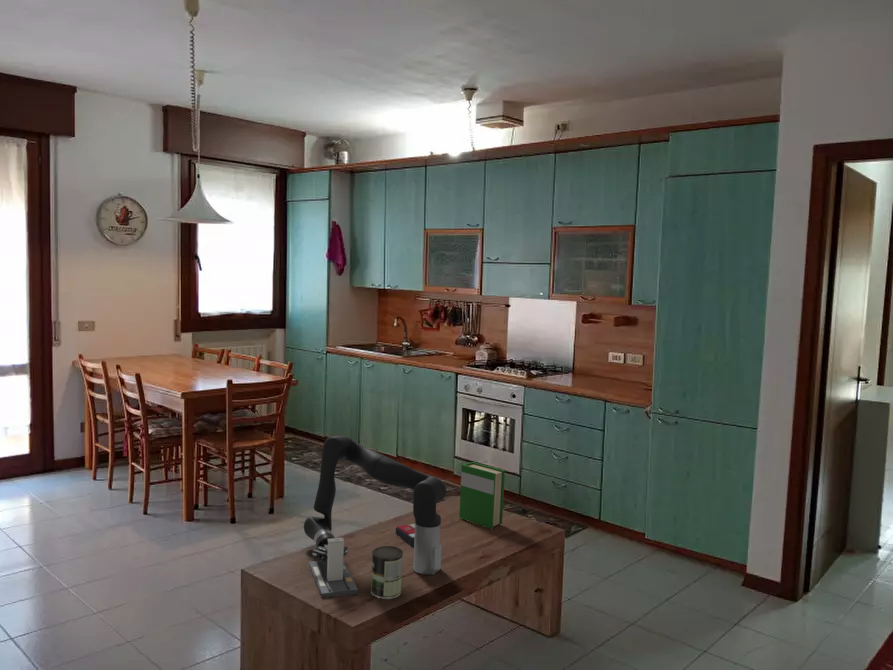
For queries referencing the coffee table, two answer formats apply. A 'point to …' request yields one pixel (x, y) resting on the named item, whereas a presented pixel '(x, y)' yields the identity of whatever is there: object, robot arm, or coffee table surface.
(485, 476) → the hardback book
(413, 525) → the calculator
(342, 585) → the switch base
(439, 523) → the robot arm
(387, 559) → the coffee can
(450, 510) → the coffee table surface
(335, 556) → the switch tab
